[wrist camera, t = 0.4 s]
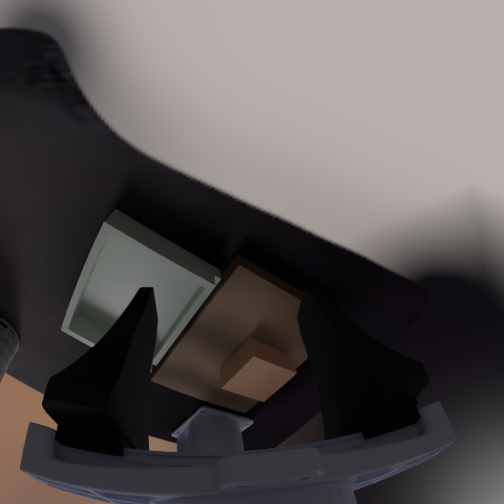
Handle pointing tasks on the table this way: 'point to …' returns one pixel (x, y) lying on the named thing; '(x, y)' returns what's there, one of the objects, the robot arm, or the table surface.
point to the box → (137, 282)
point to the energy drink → (7, 345)
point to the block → (256, 370)
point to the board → (232, 333)
